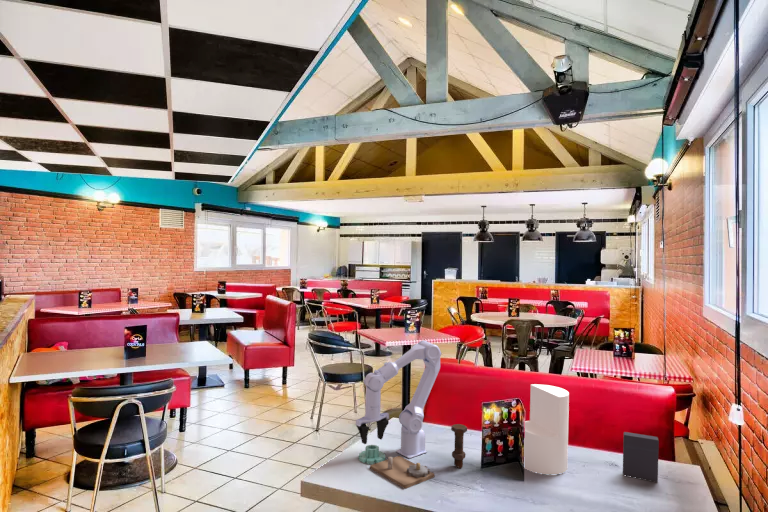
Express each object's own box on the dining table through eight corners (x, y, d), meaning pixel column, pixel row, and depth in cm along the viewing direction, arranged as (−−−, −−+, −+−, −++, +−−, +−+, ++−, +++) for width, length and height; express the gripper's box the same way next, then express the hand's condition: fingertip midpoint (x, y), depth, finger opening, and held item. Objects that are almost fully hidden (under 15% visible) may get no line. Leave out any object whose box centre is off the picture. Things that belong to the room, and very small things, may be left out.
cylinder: (547, 453, 193) (549, 383, 193) (577, 471, 177) (579, 395, 176) (510, 458, 188) (511, 386, 187) (537, 478, 171) (539, 399, 171)
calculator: (656, 478, 173) (657, 436, 173) (657, 483, 169) (658, 440, 169) (622, 471, 178) (623, 430, 177) (622, 476, 174) (623, 434, 174)
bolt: (465, 464, 181) (466, 424, 181) (466, 470, 176) (467, 429, 176) (450, 463, 182) (451, 423, 182) (450, 469, 177) (451, 428, 177)
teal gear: (374, 450, 192) (374, 440, 192) (390, 459, 184) (390, 448, 184) (353, 457, 186) (353, 446, 186) (369, 466, 178) (369, 455, 178)
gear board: (399, 458, 185) (399, 445, 185) (434, 477, 170) (434, 462, 170) (370, 468, 176) (370, 454, 176) (404, 488, 161) (405, 473, 161)
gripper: (381, 399, 192) (380, 433, 193) (351, 406, 183) (350, 441, 183) (392, 403, 187) (391, 439, 187) (362, 411, 178) (361, 447, 178)
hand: (372, 440), depth 185 cm, fingers open, 7 cm apart
